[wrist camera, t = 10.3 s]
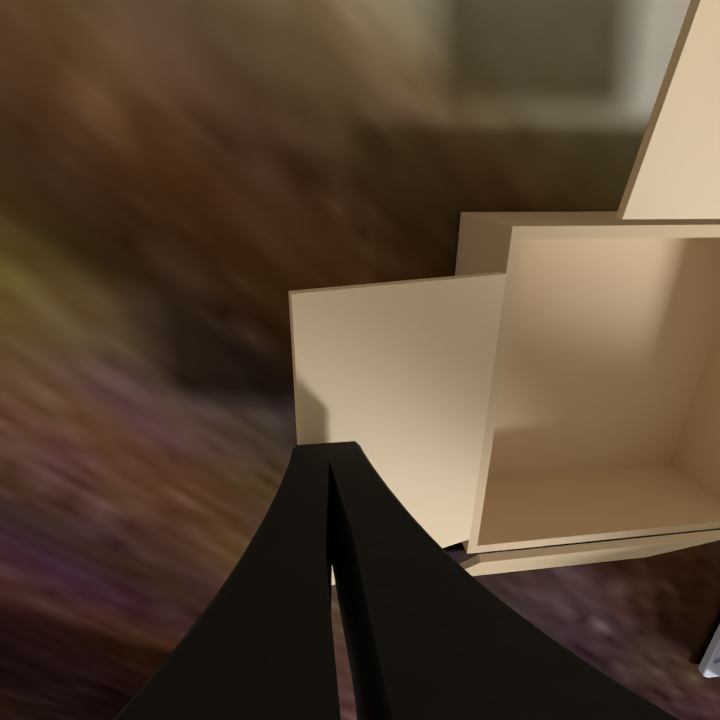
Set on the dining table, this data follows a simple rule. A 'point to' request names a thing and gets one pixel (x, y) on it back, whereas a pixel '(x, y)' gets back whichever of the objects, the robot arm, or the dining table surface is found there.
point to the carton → (598, 377)
